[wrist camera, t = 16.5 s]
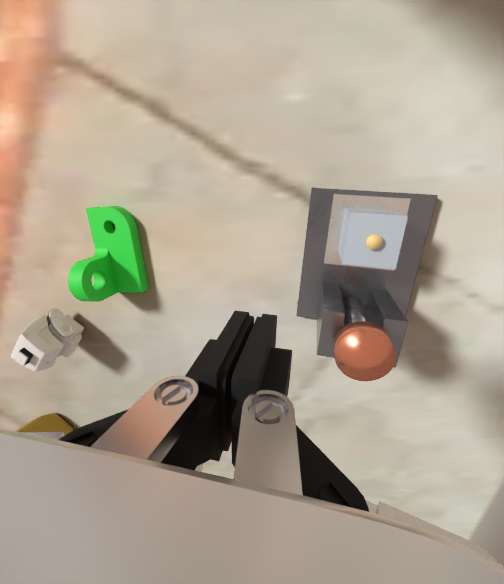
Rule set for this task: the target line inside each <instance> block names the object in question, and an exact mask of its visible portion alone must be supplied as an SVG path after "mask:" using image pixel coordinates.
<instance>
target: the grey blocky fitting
mask: <svg viewBox="0 0 504 584" xmlns="http://www.w3.org/2000/svg"><path fill="white" fill-rule="evenodd" d="M83 330H84V327H83V326H81V325H80V324H79V323H78V322H76V321H75V320H74V319H72V318H71V317H70V316H68V315H64V314H63V313H62V312H61V311H60V310H58V309H51V310H50V311H49V314H48V316H47V318H46V316H45V315H42V316H40V317H38V318H36V319H34V320H33V321H32V322H31V323H30V324H29V325H28V326H27V327H26V328H25V329H24V331H23V332H22V333H21V335H20V337H19V339H18V341H17V343H16V346H15V348H14V350H13V353H12V355H11V358H13V359H14V360H15V361H17V362H18V363H20V364H21V365H22V366H25V367H26V368H29V369H31V370H33V371H40V370H44V369H47V368H49V367H51V366H53V365H54V363H55V360H56V358H57V357H59V356H61V355H62V356H64V357H67V358H68V357H69V356H70V355H71V354H72V353H73V352H74V350H75V349H76V347H77V345H78V344H79V342H80V340H81V338H82V336H81V333H82V331H83Z"/></svg>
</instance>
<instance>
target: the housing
mask: <svg viewBox="0 0 504 584" xmlns="http://www.w3.org/2000/svg"><path fill="white" fill-rule="evenodd" d="M407 218H408V216H406V215H403V214H400V213H397V212H394V211H384V210H368V209H353V208H345V213H344V219H343V225H342V232H341V238H340V244H339V251H338V252H339V256H340V259H341V262H342V264H346V265H356V266H366V267H376V268H386V269H396V266H397V261H398V257H399V253H400V249H401V244H402V240H403V236H404V231H405V227H406V223H407Z"/></svg>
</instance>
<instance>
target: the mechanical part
mask: <svg viewBox="0 0 504 584" xmlns="http://www.w3.org/2000/svg"><path fill="white" fill-rule="evenodd" d="M86 211H87V215H88V219H89V223H90V227H91V231H92V235H93V240H94V244H95V248H96V252H95V255H94V256H93V257H91V258H88V259H85V260H82V261H79V262H77V263H76V264H74V265H73V267H72V268H71V270H70V273H69V277H68V284H69V288H70V291H71V293H72V294H73V296H74V297H75V298H77V299H78V300H81V301H102V300H104V299H106V298H108V297H110V296H112V295H114V294H116V293H117V292H135V293H142V292H144V291H146V290H147V289H149V286H148V281H147V276H146V270H145V265H144V260H143V255H142V249H141V244H140V239H139V233H138V228H137V224H136V222H135V219H134V218H133V216H132V215H131V214H130V213H129V212H128V211H127V210H125V209H124V208H122V207H118V206H109V207H94V208H86ZM112 222H113V223H114V224H115V228H116V229H115V230H114V228H113V226H112ZM92 275H93V276H94V285H93V286H92V282H91V278H92Z"/></svg>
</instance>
